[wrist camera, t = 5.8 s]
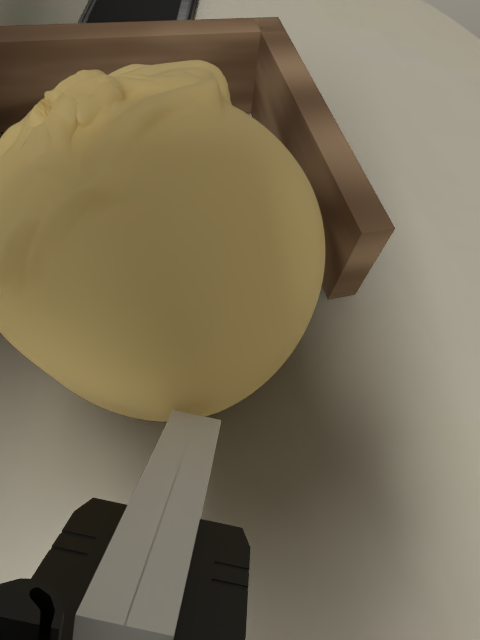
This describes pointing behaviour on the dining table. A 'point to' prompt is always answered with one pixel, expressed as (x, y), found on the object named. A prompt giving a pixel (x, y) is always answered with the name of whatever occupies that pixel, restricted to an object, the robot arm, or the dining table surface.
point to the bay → (245, 94)
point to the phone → (137, 10)
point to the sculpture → (154, 241)
